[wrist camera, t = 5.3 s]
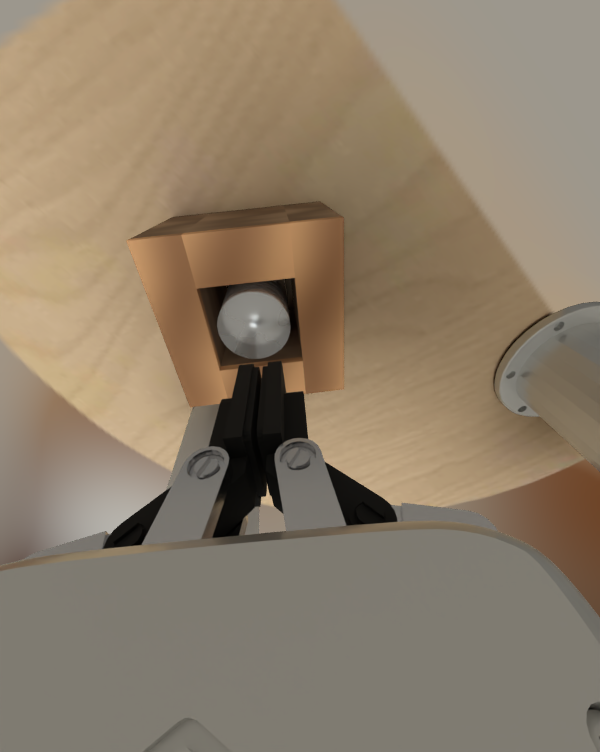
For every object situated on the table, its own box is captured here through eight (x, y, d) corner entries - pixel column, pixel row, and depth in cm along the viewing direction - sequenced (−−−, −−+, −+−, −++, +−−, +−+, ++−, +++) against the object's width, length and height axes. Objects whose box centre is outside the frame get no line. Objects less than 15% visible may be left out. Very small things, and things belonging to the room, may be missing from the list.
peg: (281, 252, 22) (286, 288, 16) (287, 304, 24) (293, 354, 18) (227, 258, 22) (209, 297, 16) (238, 310, 24) (226, 362, 18)
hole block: (320, 201, 21) (343, 217, 14) (325, 333, 26) (344, 389, 20) (172, 217, 20) (126, 240, 14) (210, 346, 26) (190, 407, 19)
